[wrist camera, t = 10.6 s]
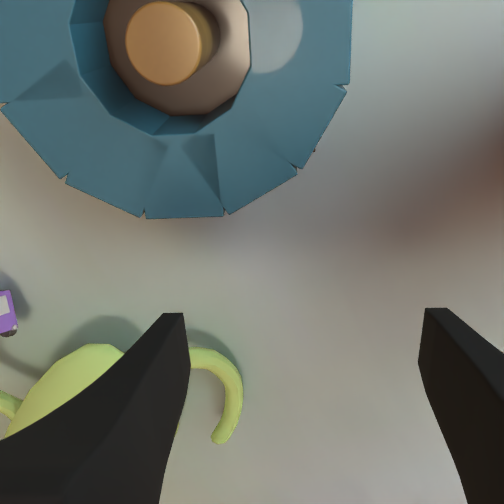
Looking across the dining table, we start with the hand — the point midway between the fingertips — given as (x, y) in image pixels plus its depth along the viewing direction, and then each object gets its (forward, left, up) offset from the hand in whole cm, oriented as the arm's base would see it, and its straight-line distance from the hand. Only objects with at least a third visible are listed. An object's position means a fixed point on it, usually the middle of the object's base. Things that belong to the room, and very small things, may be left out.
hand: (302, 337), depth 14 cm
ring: (+4, -8, -9) cm, 13 cm away
